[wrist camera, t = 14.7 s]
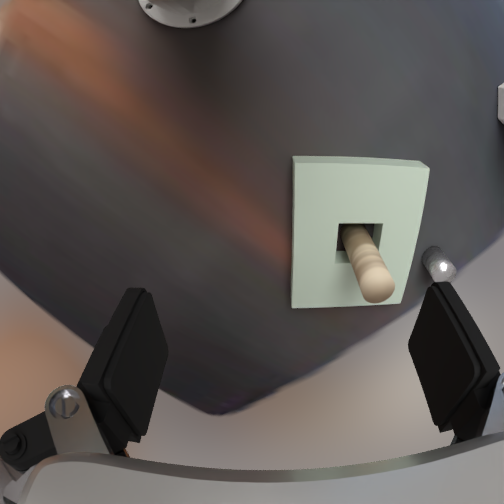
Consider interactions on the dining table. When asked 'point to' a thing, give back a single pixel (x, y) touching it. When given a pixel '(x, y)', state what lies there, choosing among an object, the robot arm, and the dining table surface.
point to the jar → (501, 103)
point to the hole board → (352, 211)
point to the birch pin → (367, 263)
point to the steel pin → (438, 265)
